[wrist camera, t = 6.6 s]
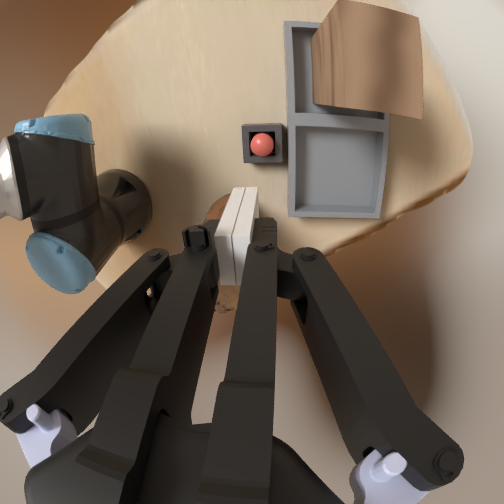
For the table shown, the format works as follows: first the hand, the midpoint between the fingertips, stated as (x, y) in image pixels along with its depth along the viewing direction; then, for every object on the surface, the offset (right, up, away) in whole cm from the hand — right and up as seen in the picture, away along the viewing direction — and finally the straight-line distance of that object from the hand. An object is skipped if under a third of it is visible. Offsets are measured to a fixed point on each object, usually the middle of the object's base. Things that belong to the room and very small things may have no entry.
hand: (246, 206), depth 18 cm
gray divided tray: (+14, +18, +21) cm, 31 cm away
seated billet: (+13, +25, +16) cm, 32 cm away
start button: (+2, +15, +23) cm, 27 cm away
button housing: (+2, +15, +24) cm, 28 cm away
